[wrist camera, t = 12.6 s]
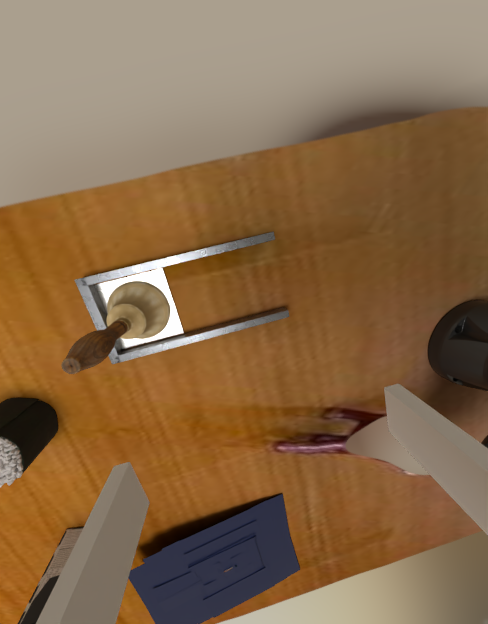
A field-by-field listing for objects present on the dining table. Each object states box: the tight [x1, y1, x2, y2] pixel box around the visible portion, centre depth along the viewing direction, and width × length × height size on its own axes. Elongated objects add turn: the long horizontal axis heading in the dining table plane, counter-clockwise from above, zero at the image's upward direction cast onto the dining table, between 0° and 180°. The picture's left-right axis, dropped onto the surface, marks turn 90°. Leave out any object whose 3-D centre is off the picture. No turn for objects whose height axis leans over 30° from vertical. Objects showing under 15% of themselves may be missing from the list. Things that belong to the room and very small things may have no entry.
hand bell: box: [62, 281, 170, 374], centre depth 24 cm, size 8×8×16 cm
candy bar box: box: [18, 527, 84, 624], centre depth 34 cm, size 11×5×16 cm, turn 178°
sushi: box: [0, 398, 58, 487], centre depth 31 cm, size 8×8×8 cm
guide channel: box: [75, 232, 289, 364], centre depth 32 cm, size 12×26×2 cm, turn 103°
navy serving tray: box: [128, 494, 300, 624], centre depth 46 cm, size 24×30×4 cm
